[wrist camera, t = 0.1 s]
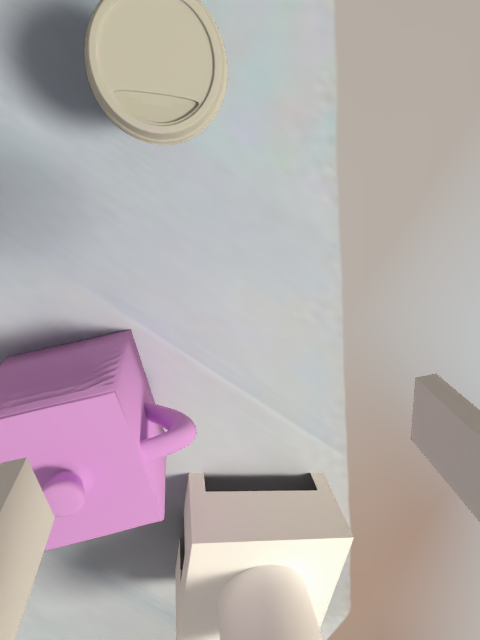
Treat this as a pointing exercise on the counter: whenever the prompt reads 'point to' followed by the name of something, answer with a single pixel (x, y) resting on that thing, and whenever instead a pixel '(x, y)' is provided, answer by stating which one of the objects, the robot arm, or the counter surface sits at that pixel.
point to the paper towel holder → (258, 562)
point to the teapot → (90, 435)
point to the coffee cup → (156, 67)
